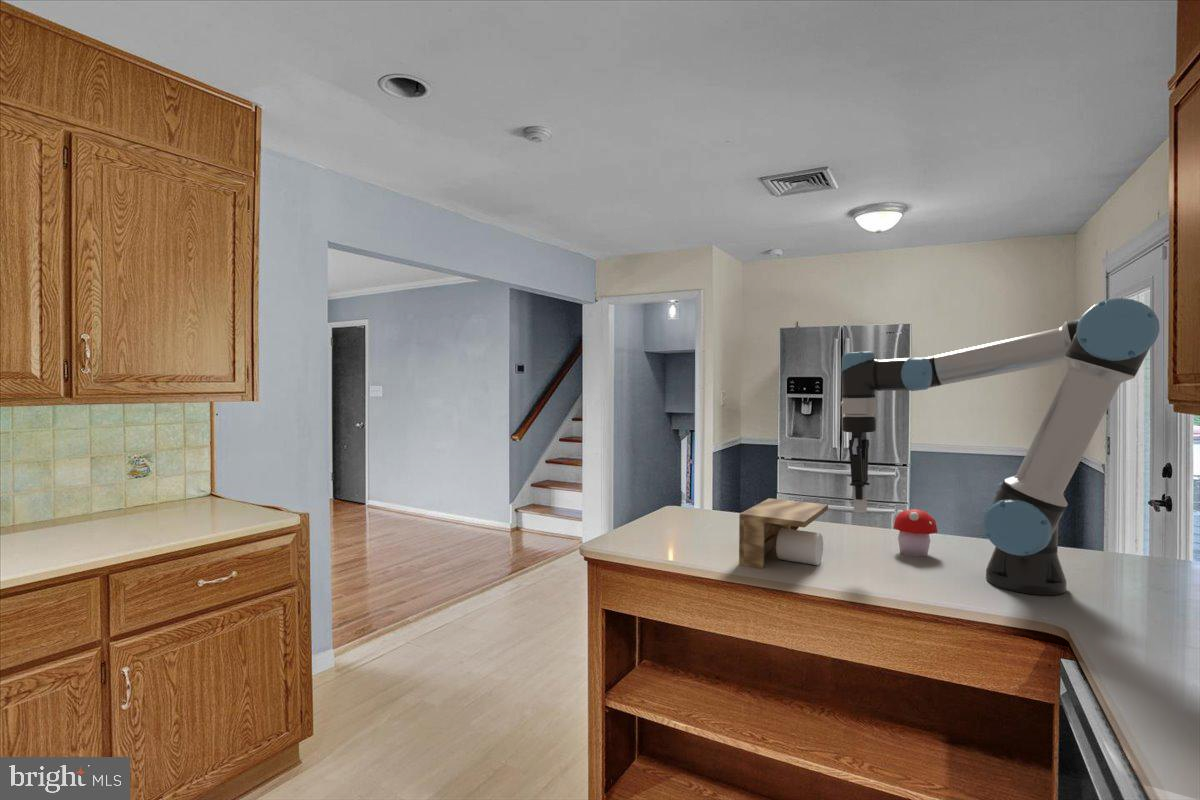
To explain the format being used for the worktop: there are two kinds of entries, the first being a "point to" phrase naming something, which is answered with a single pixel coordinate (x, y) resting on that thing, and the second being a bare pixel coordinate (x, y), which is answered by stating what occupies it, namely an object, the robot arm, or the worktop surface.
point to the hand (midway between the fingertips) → (860, 512)
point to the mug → (799, 546)
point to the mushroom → (914, 531)
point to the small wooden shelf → (771, 526)
